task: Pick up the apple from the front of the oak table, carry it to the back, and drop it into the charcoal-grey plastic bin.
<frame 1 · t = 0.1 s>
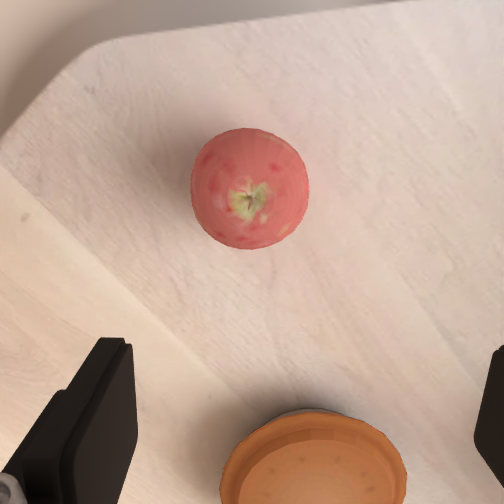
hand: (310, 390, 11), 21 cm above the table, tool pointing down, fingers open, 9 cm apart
apple: (249, 180, 31), on the table
pie: (307, 456, 38), on the table
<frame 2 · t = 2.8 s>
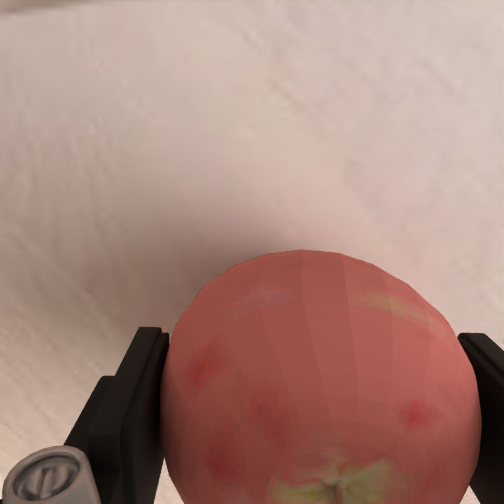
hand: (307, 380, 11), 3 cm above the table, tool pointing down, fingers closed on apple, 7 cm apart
apple: (293, 319, 15), on the table, touching gripper
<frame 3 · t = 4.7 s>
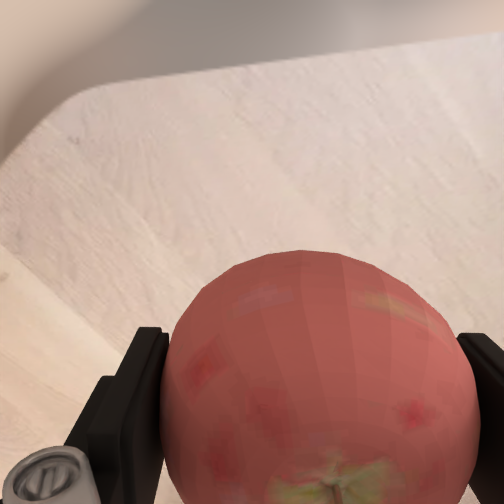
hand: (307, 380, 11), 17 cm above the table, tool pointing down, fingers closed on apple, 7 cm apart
apple: (292, 319, 15), point 13 cm above the table, touching gripper
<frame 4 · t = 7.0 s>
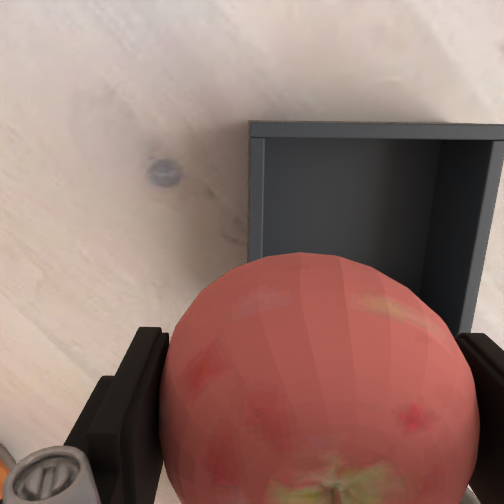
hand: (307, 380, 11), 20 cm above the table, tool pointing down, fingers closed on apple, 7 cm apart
apple: (292, 321, 15), point 16 cm above the table, touching gripper
bin: (342, 220, 30), on the table
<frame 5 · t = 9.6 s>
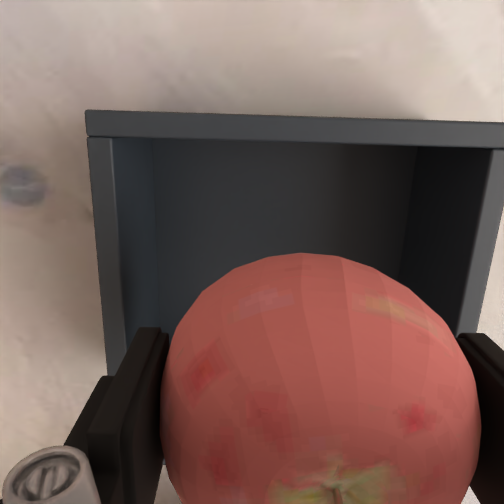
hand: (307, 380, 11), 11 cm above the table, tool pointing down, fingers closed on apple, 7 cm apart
apple: (293, 321, 15), point 7 cm above the table, touching gripper
bin: (278, 255, 22), on the table
when the fingers open (8 cm above the table, at t = 11.1 s): apple drops 4 cm, resting on bin.
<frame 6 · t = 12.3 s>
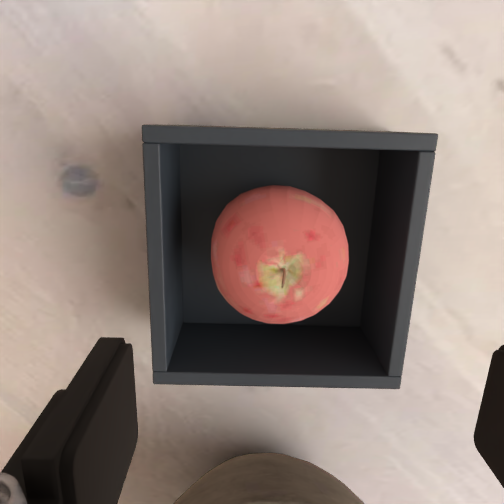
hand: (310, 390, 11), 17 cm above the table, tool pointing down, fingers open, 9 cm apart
apple: (274, 234, 27), point 1 cm above the table, touching bin
bin: (275, 236, 28), on the table
bowl: (263, 487, 34), on the table
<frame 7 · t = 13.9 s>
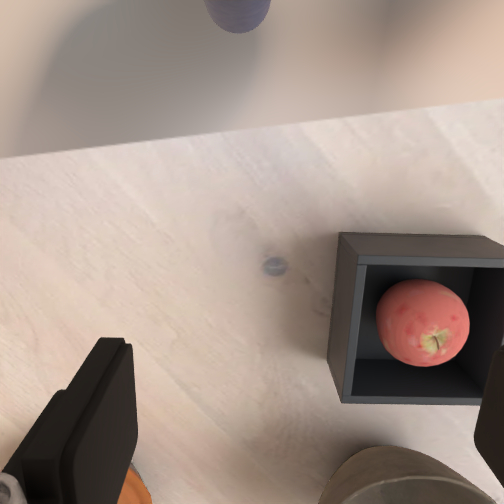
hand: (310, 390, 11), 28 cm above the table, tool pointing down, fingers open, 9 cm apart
apple: (403, 301, 40), point 1 cm above the table, touching bin
bin: (401, 301, 41), on the table
pie: (91, 480, 47), on the table
bowl: (375, 470, 48), on the table
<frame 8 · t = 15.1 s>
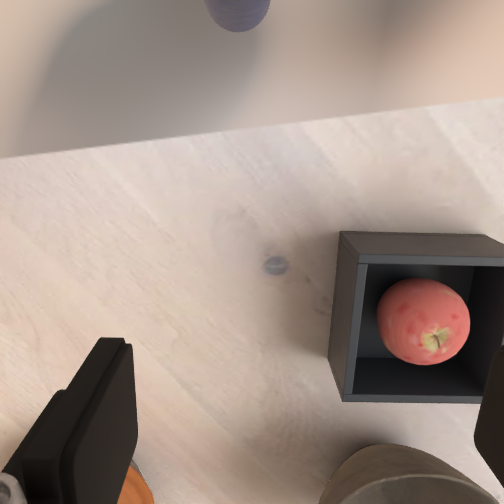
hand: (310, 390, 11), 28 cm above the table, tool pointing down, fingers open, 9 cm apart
apple: (404, 300, 41), point 1 cm above the table, touching bin
bin: (402, 299, 41), on the table
pie: (93, 479, 48), on the table
bowl: (376, 468, 48), on the table
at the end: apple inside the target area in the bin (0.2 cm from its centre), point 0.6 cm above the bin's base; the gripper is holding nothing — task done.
